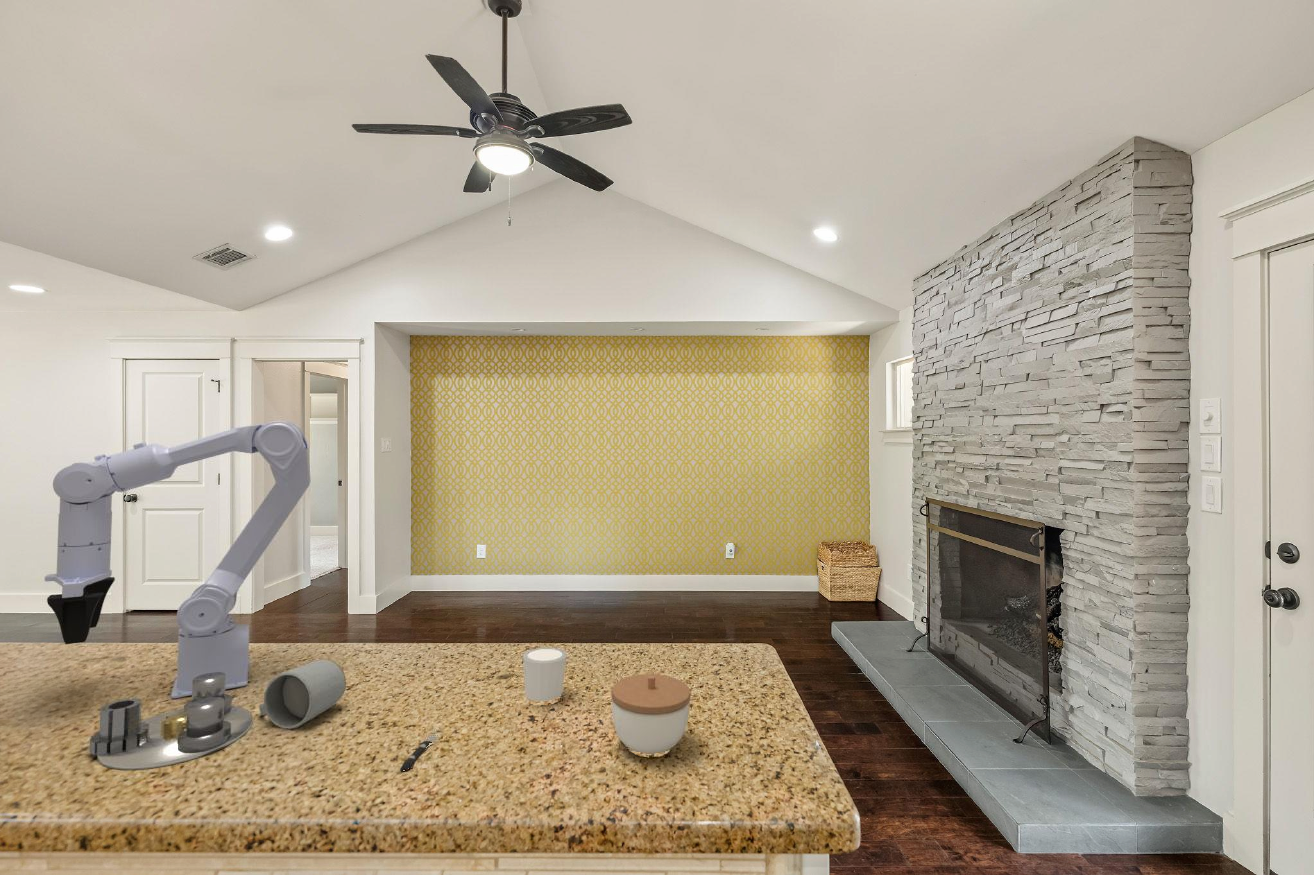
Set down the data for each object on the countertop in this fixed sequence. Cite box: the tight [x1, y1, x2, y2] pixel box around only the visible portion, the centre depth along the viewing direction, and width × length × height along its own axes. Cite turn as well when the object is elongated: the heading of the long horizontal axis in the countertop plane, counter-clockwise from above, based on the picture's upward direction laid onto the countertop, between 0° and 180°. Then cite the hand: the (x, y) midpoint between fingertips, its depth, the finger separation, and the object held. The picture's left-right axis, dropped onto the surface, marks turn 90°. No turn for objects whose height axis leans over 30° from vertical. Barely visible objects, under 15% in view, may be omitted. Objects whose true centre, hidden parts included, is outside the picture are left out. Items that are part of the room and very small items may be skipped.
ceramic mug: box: [258, 659, 347, 730], centre depth 86 cm, size 11×8×8 cm
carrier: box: [96, 672, 254, 771], centre depth 79 cm, size 16×16×6 cm
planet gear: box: [88, 697, 149, 756], centre depth 75 cm, size 6×6×5 cm
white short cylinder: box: [522, 647, 567, 702], centre depth 94 cm, size 7×7×7 cm
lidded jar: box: [611, 673, 692, 754], centre depth 80 cm, size 11×11×9 cm
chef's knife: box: [399, 729, 443, 772], centre depth 81 cm, size 19×1×3 cm
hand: (81, 635), depth 88 cm, fingers open, 7 cm apart
